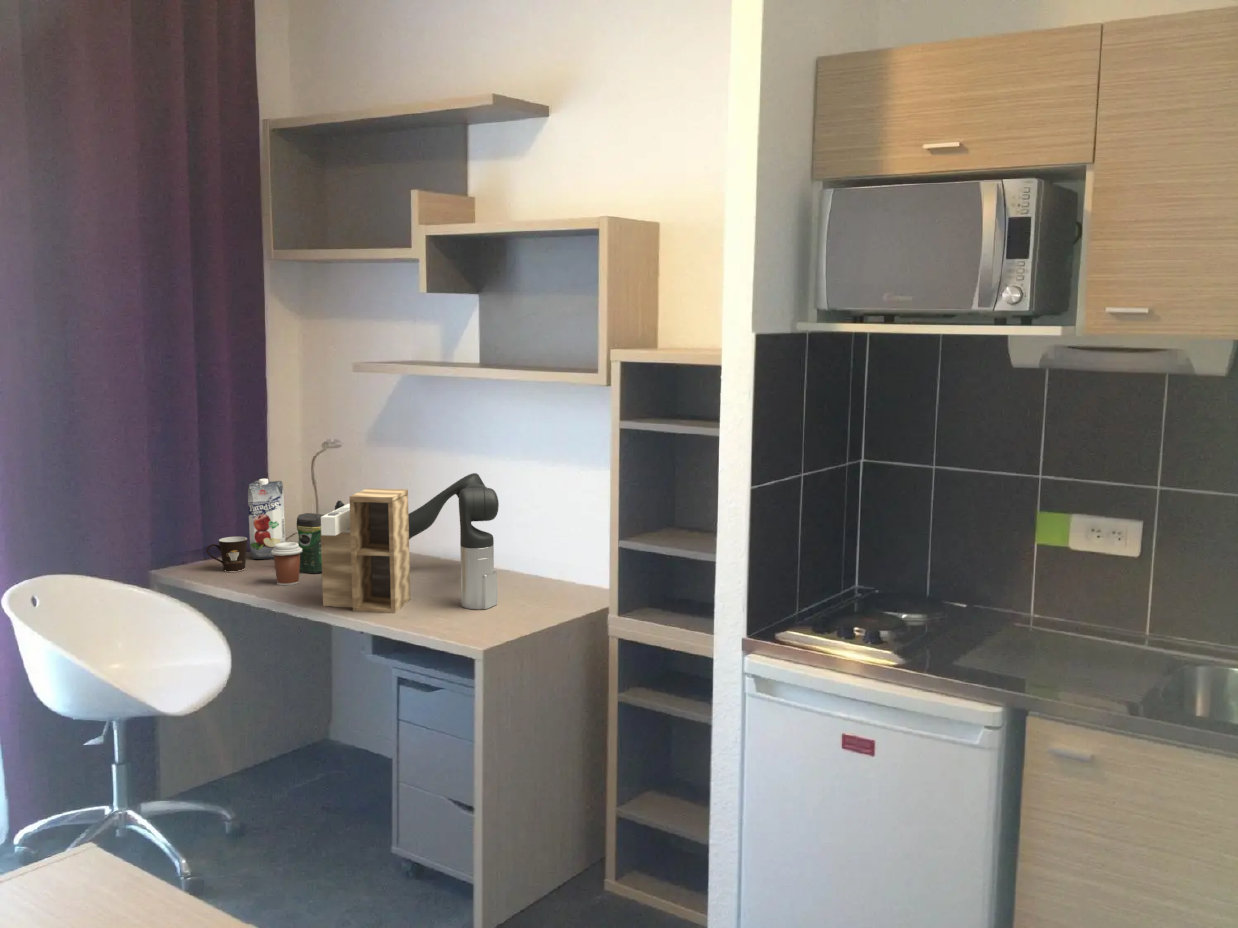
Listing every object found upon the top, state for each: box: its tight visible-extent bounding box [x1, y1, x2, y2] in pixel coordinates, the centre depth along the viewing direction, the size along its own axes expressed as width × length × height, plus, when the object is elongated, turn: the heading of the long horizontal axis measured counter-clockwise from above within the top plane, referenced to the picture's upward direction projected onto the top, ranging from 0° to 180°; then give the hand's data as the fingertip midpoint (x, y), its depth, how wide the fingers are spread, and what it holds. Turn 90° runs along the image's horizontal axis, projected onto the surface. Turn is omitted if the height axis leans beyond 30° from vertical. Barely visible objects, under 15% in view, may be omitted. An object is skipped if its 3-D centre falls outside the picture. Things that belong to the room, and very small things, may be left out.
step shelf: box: [321, 488, 411, 613], centre depth 304 cm, size 16×22×32 cm
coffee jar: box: [296, 512, 325, 574], centre depth 344 cm, size 10×8×19 cm
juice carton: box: [247, 478, 286, 560], centre depth 363 cm, size 9×10×27 cm
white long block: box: [321, 502, 350, 536], centre depth 305 cm, size 24×4×5 cm, turn 174°
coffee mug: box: [206, 536, 248, 571], centre depth 346 cm, size 12×9×10 cm
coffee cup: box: [271, 541, 302, 586], centre depth 329 cm, size 9×9×12 cm
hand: (350, 503), depth 310 cm, fingers open, 6 cm apart
